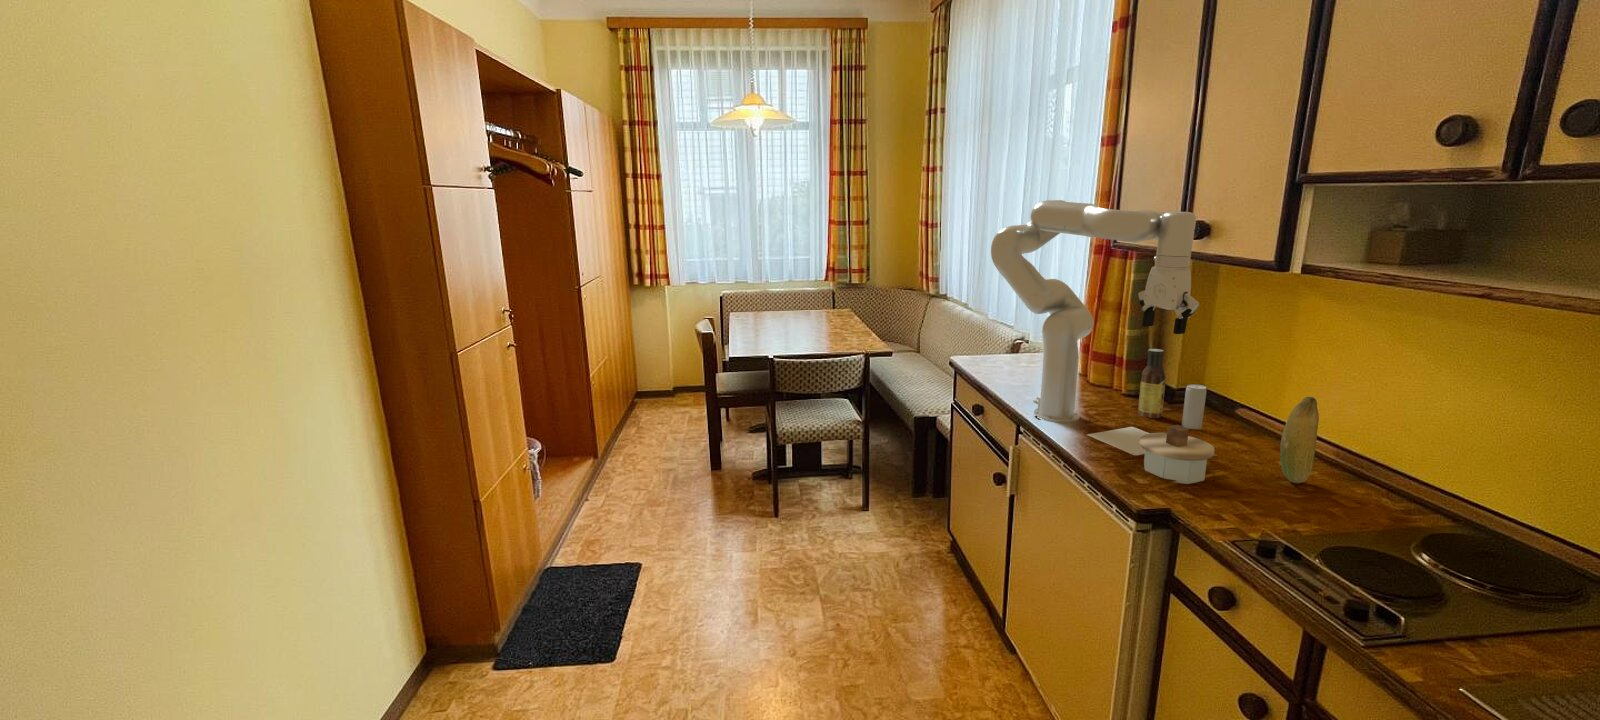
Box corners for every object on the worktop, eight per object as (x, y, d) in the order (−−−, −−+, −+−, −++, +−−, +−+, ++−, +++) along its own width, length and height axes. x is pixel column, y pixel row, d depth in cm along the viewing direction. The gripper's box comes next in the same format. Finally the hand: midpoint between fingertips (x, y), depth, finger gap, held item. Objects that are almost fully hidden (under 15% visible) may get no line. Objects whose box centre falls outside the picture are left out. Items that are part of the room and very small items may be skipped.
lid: (1124, 441, 154) (1126, 421, 153) (1172, 433, 159) (1174, 413, 157) (1179, 464, 140) (1182, 443, 139) (1230, 454, 145) (1233, 433, 144)
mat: (1086, 436, 174) (1086, 434, 174) (1131, 428, 179) (1132, 426, 179) (1134, 457, 159) (1134, 455, 159) (1182, 448, 165) (1183, 446, 165)
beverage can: (1200, 426, 180) (1206, 385, 177) (1201, 432, 176) (1207, 389, 173) (1180, 424, 182) (1185, 383, 179) (1181, 429, 178) (1186, 387, 175)
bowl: (1132, 466, 154) (1134, 443, 153) (1169, 459, 158) (1172, 436, 157) (1176, 486, 143) (1179, 461, 142) (1215, 478, 147) (1219, 453, 146)
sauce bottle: (1164, 420, 185) (1172, 353, 181) (1141, 419, 187) (1148, 352, 182) (1157, 413, 192) (1164, 348, 187) (1134, 412, 193) (1141, 347, 188)
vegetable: (1303, 490, 140) (1319, 402, 135) (1269, 481, 145) (1283, 396, 140) (1313, 483, 143) (1328, 397, 139) (1280, 474, 148) (1294, 391, 144)
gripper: (1133, 259, 168) (1125, 324, 172) (1190, 266, 152) (1180, 337, 156) (1155, 258, 170) (1147, 322, 174) (1215, 265, 154) (1204, 335, 158)
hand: (1162, 329), depth 165 cm, fingers open, 9 cm apart
